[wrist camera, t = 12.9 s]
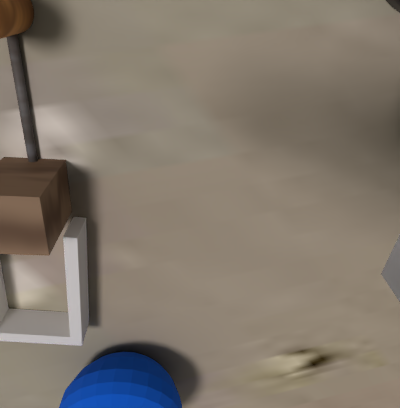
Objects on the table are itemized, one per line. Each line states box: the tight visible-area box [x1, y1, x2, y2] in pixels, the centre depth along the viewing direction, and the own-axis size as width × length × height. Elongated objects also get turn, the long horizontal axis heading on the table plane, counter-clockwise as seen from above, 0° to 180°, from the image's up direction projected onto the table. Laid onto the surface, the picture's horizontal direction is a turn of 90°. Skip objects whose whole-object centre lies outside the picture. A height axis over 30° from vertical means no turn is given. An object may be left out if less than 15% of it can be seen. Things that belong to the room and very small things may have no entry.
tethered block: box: [0, 0, 72, 255], centre depth 36 cm, size 25×7×10 cm, turn 176°
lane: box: [0, 217, 89, 346], centre depth 50 cm, size 19×13×4 cm
